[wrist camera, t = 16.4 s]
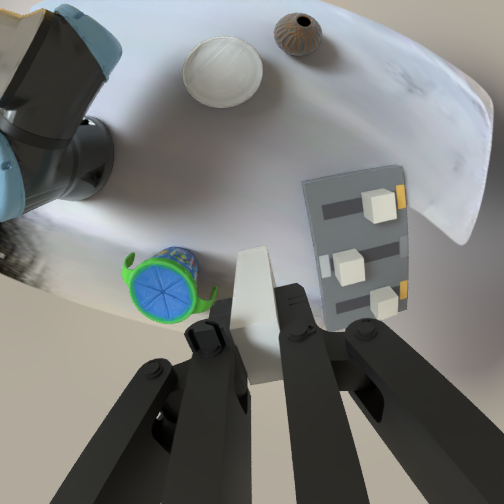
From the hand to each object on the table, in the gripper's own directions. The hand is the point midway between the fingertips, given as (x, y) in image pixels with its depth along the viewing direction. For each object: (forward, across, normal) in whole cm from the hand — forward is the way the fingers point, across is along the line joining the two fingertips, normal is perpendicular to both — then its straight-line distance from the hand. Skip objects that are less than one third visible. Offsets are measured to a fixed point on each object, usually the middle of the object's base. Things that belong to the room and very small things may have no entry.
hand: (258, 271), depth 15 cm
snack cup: (+31, -16, -10) cm, 36 cm away
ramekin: (+31, 0, +18) cm, 36 cm away
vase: (+31, +12, +22) cm, 40 cm away
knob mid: (+28, +12, -15) cm, 34 cm away
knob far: (+28, +18, -24) cm, 41 cm away
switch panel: (+30, +16, -15) cm, 37 cm away
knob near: (+28, +18, -6) cm, 34 cm away
